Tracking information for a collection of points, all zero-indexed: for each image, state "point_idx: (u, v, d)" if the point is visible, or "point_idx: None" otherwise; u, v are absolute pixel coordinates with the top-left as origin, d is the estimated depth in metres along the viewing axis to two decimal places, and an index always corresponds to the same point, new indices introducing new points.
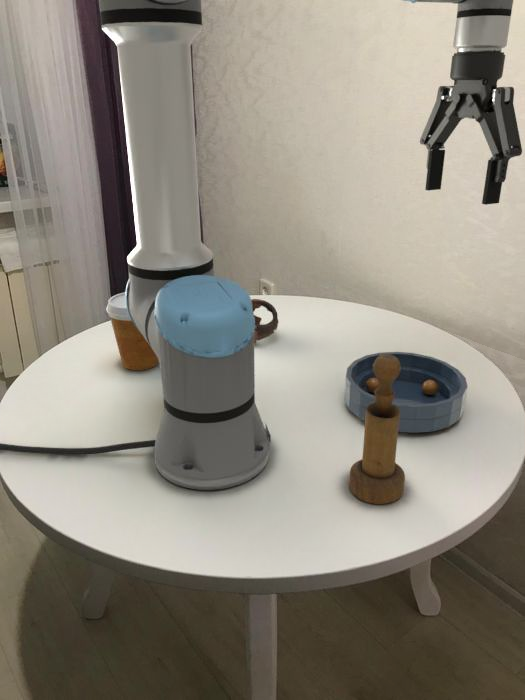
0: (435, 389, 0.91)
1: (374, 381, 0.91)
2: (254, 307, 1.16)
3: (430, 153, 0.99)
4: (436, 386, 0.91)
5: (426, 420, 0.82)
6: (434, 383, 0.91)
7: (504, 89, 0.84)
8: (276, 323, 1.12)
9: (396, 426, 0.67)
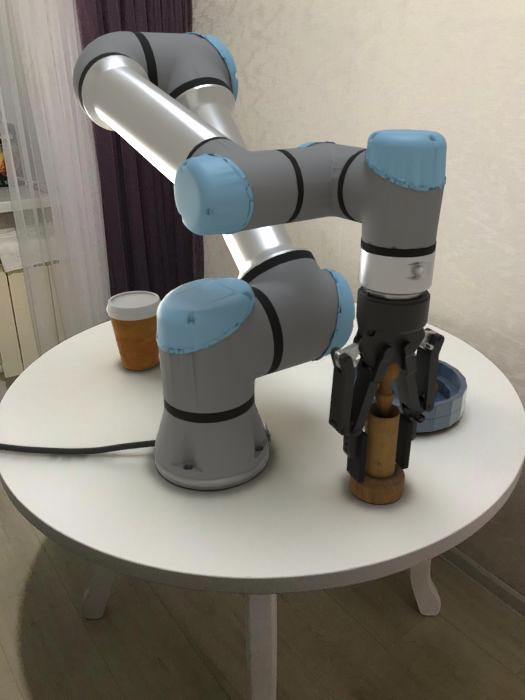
0: None
1: None
2: None
3: None
4: (436, 386, 0.91)
5: (426, 420, 0.82)
6: None
7: (333, 354, 0.62)
8: None
9: (396, 426, 0.67)
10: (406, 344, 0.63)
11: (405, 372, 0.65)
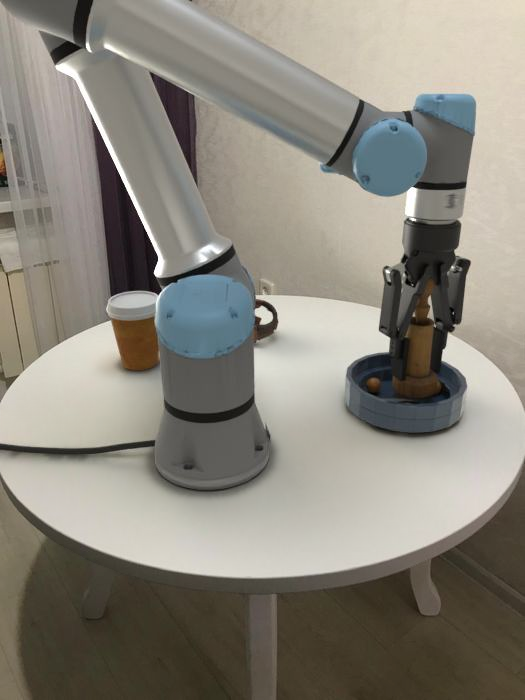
0: (439, 389, 0.91)
1: (374, 381, 0.91)
2: None
3: None
4: (440, 387, 0.91)
5: (426, 420, 0.82)
6: (440, 384, 0.91)
7: (385, 271, 0.80)
8: (276, 323, 1.12)
9: (431, 333, 0.85)
10: (442, 264, 0.80)
11: (440, 288, 0.83)
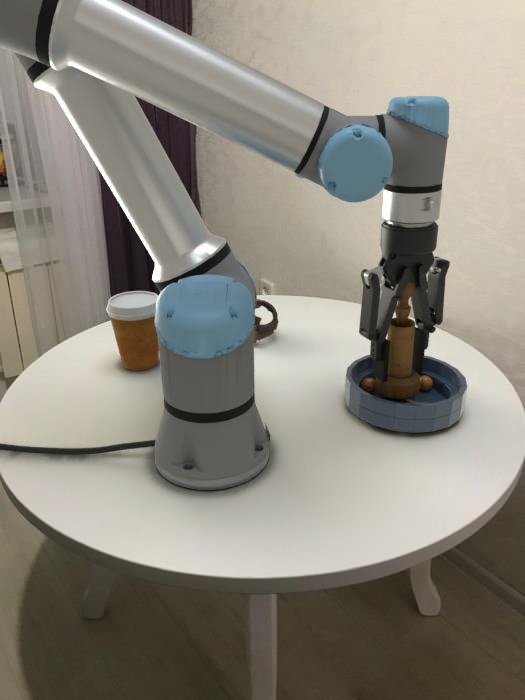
0: (426, 377, 0.92)
1: (366, 382, 0.92)
2: None
3: None
4: (427, 376, 0.93)
5: (426, 420, 0.82)
6: None
7: (363, 274, 0.80)
8: (276, 323, 1.12)
9: (412, 334, 0.85)
10: (420, 266, 0.81)
11: (419, 290, 0.83)
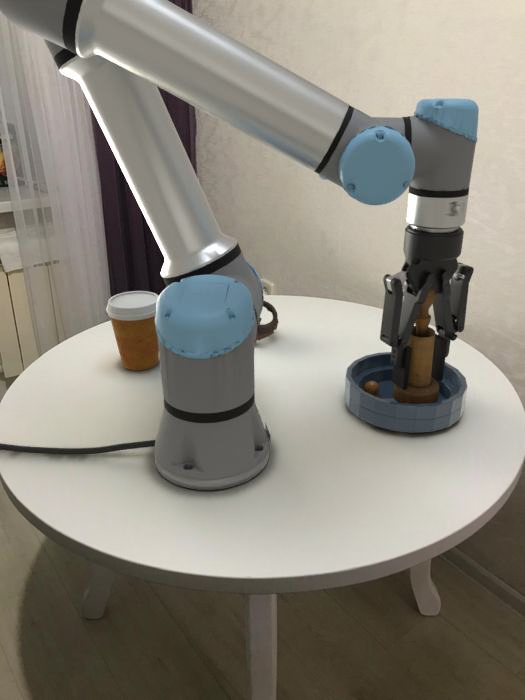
0: None
1: (370, 389, 0.90)
2: None
3: None
4: None
5: (426, 420, 0.82)
6: None
7: (385, 279, 0.78)
8: (276, 323, 1.12)
9: (432, 344, 0.83)
10: (444, 272, 0.79)
11: (442, 296, 0.81)
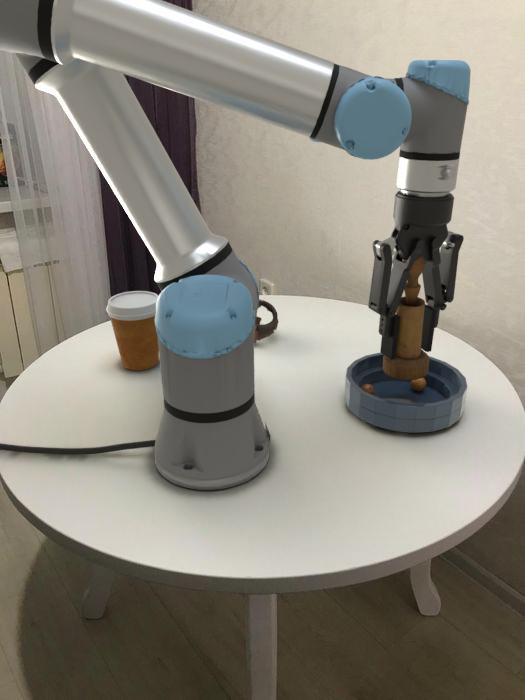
0: (414, 380, 0.92)
1: None
2: None
3: None
4: None
5: (426, 420, 0.82)
6: None
7: (375, 245, 0.78)
8: (276, 323, 1.12)
9: (420, 315, 0.82)
10: (433, 238, 0.78)
11: (431, 264, 0.81)
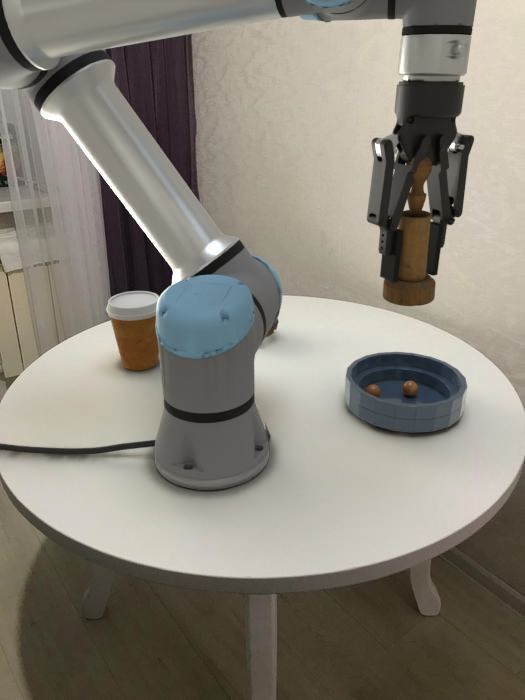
0: (406, 394, 0.92)
1: None
2: None
3: None
4: (404, 393, 0.91)
5: (426, 420, 0.82)
6: None
7: (374, 143, 0.67)
8: (276, 323, 1.12)
9: (426, 228, 0.72)
10: (441, 136, 0.68)
11: (438, 169, 0.70)
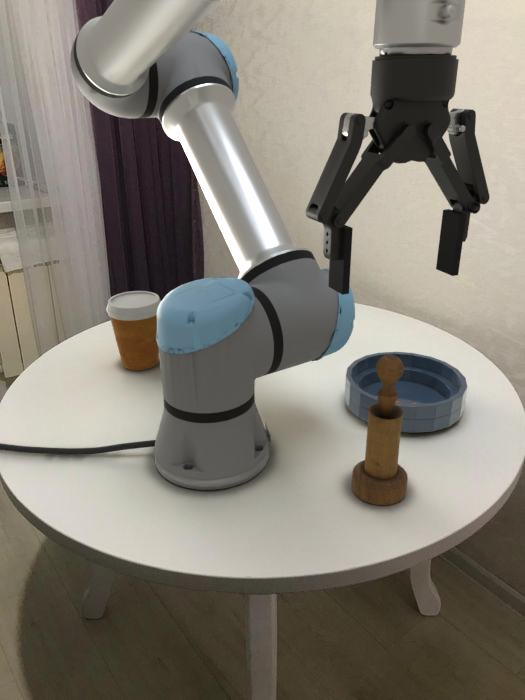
0: None
1: None
2: None
3: None
4: None
5: (426, 420, 0.82)
6: None
7: (344, 116, 0.52)
8: None
9: (397, 429, 0.67)
10: (428, 127, 0.54)
11: (439, 161, 0.56)
